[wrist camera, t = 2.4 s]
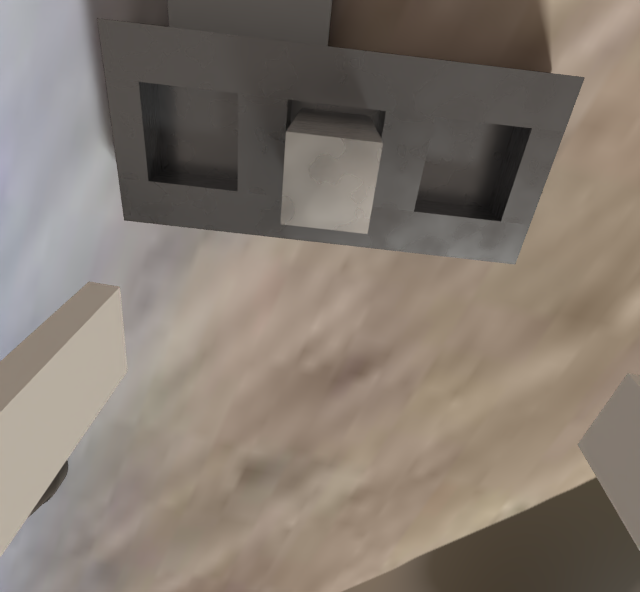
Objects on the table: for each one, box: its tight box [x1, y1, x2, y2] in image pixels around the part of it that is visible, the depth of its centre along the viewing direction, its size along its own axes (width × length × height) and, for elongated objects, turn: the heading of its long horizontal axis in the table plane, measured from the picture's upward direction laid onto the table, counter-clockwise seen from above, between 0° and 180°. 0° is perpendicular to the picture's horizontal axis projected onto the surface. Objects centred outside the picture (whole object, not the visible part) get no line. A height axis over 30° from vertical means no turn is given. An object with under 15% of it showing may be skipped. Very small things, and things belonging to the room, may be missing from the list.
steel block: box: [280, 108, 383, 234], centre depth 25 cm, size 5×5×10 cm
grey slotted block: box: [97, 18, 585, 264], centre depth 29 cm, size 28×12×4 cm, turn 84°
